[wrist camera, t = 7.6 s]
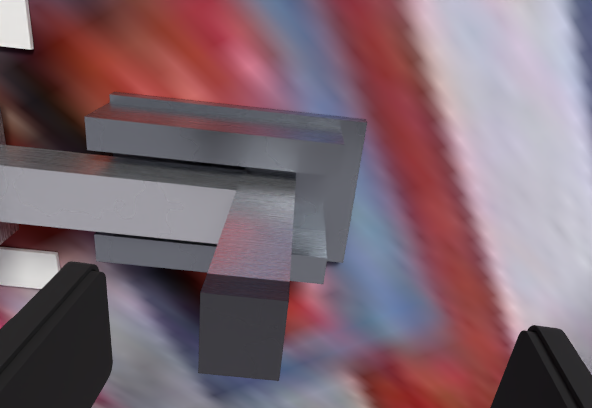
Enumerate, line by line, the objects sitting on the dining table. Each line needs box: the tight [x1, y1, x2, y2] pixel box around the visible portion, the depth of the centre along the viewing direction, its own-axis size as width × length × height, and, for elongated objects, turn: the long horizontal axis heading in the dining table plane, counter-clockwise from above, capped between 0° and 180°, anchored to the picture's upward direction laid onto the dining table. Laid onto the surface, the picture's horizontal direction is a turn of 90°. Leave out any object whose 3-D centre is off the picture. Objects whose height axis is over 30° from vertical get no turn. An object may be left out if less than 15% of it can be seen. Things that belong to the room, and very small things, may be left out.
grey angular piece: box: [0, 110, 296, 381], centre depth 15 cm, size 13×6×9 cm, turn 84°
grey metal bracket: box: [85, 92, 367, 284], centre depth 19 cm, size 10×6×3 cm, turn 84°
